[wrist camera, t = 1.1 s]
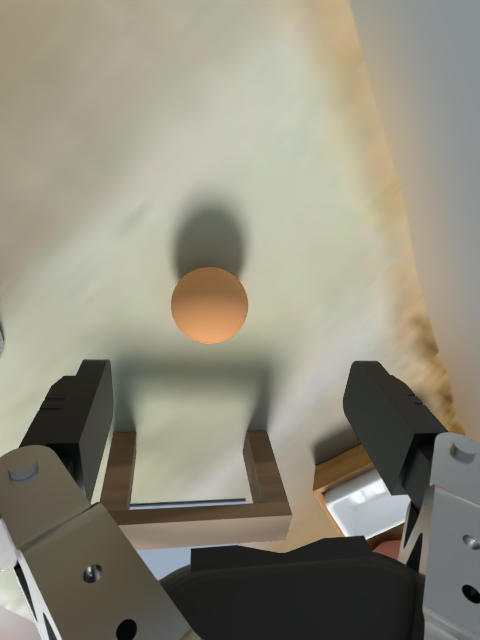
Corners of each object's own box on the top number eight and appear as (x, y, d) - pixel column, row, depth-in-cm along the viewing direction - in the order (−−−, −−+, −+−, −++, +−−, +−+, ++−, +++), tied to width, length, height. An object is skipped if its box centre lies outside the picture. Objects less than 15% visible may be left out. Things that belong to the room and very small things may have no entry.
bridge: (113, 432, 34) (94, 526, 26) (266, 430, 37) (292, 515, 29) (114, 456, 35) (96, 553, 27) (261, 453, 38) (285, 539, 30)
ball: (173, 254, 28) (172, 280, 23) (246, 259, 29) (260, 286, 24) (169, 320, 30) (168, 357, 25) (236, 323, 31) (248, 359, 26)
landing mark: (122, 505, 39) (122, 507, 38) (245, 499, 41) (245, 501, 41) (123, 579, 44) (123, 581, 44) (231, 570, 47) (231, 572, 47)
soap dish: (331, 510, 45) (348, 552, 40) (301, 463, 40) (316, 504, 36) (427, 465, 44) (455, 503, 39) (406, 411, 39) (436, 447, 35)
